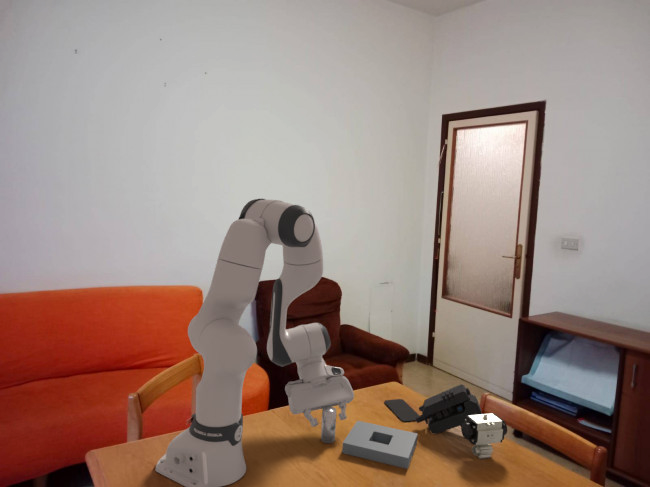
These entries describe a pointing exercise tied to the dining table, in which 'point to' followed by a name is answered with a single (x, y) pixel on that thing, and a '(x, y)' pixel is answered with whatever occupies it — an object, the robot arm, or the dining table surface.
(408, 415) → the phone
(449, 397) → the tool
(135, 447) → the dining table surface
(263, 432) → the dining table surface
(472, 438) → the pneumatic valve
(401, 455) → the socket plate
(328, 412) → the steel pin
